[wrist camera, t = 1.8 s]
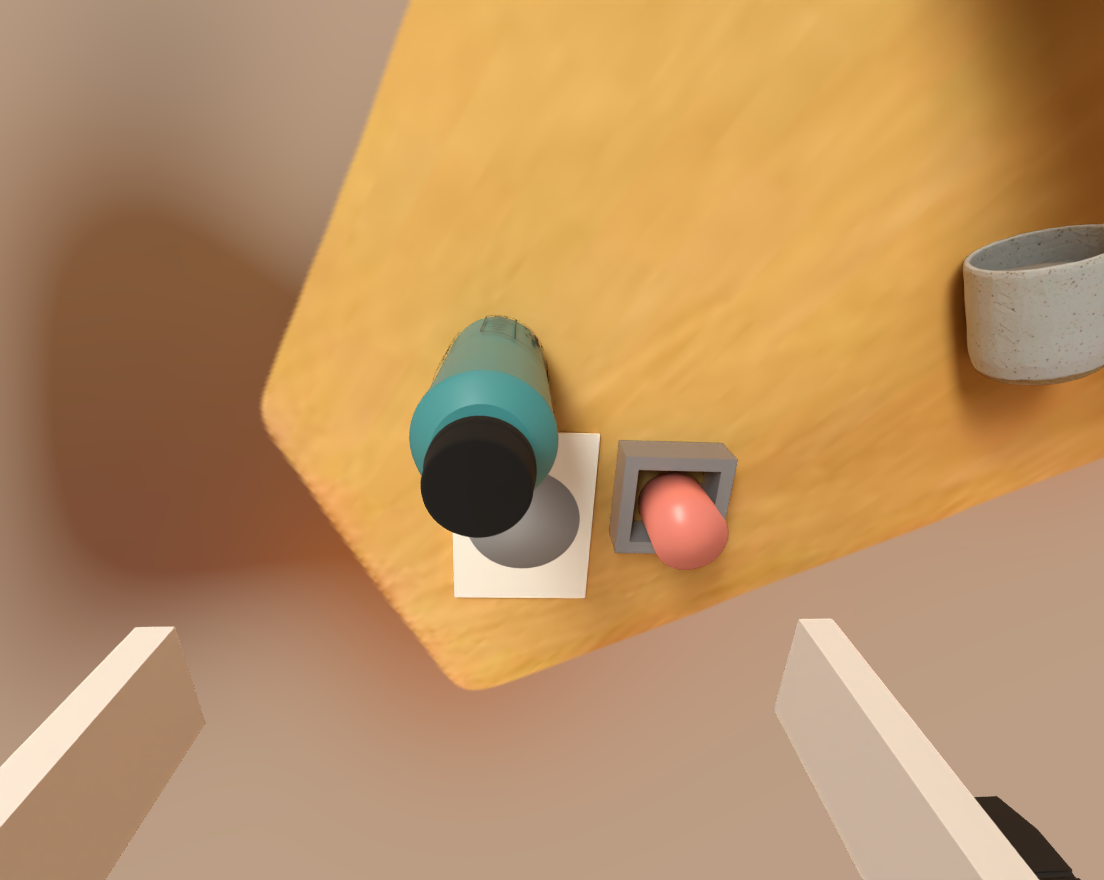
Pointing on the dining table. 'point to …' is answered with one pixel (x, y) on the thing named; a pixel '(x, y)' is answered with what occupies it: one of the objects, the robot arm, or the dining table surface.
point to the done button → (682, 521)
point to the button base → (665, 458)
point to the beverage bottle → (485, 430)
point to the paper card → (539, 535)
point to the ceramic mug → (1037, 306)
